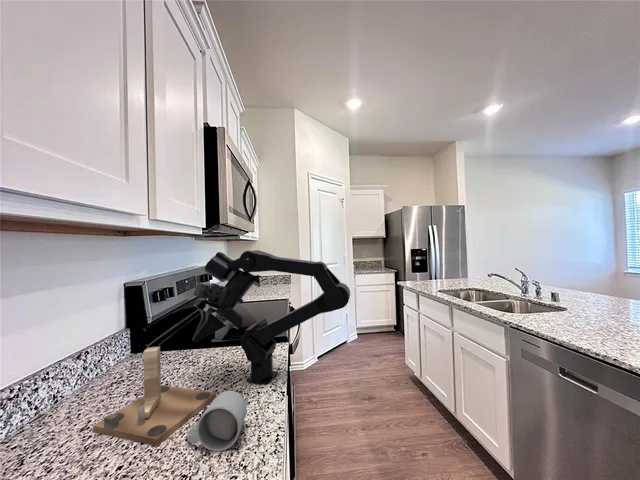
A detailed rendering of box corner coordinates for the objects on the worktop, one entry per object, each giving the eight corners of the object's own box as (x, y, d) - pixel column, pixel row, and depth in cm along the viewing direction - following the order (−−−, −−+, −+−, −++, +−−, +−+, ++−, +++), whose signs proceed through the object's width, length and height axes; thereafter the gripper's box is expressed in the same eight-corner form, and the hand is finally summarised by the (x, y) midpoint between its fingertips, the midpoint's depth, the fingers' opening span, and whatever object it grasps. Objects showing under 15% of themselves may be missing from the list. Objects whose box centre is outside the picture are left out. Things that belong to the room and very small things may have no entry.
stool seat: (162, 389, 74) (162, 372, 74) (215, 397, 69) (215, 379, 69) (93, 431, 58) (92, 409, 58) (156, 446, 53) (156, 421, 53)
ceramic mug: (249, 422, 60) (247, 384, 60) (240, 450, 51) (238, 406, 52) (196, 426, 59) (195, 388, 59) (179, 455, 51) (177, 411, 51)
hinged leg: (150, 417, 59) (149, 358, 59) (136, 419, 59) (134, 360, 59) (161, 399, 66) (160, 346, 66) (148, 400, 66) (147, 347, 66)
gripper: (199, 269, 82) (157, 316, 74) (230, 273, 68) (181, 330, 61) (227, 293, 87) (189, 339, 79) (260, 301, 73) (218, 357, 66)
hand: (193, 341), depth 71 cm, fingers closed
